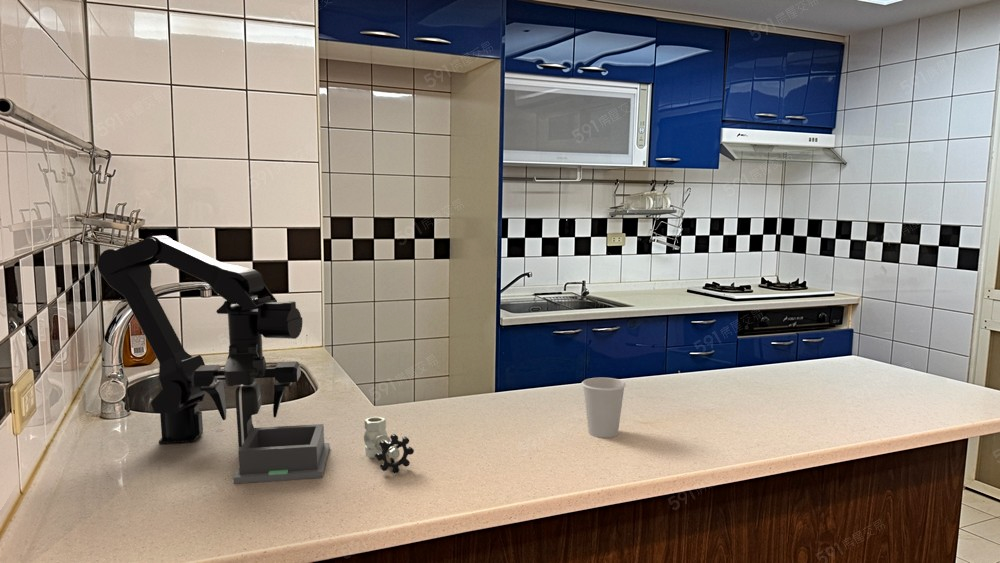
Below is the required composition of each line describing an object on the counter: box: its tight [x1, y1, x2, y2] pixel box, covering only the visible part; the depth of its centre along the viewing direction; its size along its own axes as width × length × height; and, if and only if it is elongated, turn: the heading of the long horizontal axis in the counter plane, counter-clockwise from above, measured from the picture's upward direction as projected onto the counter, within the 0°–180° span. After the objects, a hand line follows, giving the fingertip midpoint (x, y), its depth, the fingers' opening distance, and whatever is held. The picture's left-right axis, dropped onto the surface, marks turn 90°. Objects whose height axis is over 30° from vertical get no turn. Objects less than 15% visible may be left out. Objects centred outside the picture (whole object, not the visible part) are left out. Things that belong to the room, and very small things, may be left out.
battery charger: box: [235, 381, 262, 448], centre depth 133 cm, size 7×4×11 cm, turn 12°
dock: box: [232, 423, 330, 484], centre depth 122 cm, size 14×14×5 cm
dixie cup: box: [581, 377, 627, 439], centre depth 136 cm, size 8×8×10 cm
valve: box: [363, 416, 415, 474], centre depth 123 cm, size 7×7×12 cm
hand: (249, 418), depth 133 cm, fingers open, 9 cm apart
